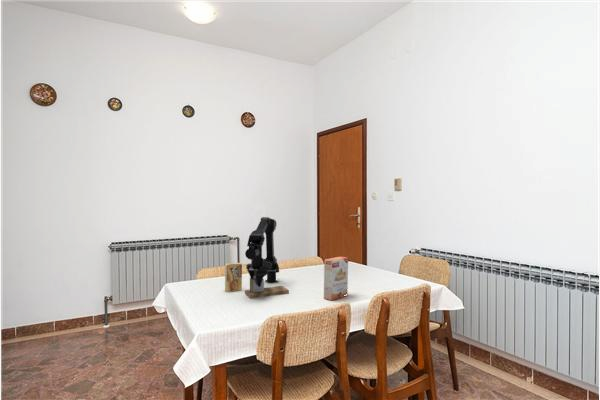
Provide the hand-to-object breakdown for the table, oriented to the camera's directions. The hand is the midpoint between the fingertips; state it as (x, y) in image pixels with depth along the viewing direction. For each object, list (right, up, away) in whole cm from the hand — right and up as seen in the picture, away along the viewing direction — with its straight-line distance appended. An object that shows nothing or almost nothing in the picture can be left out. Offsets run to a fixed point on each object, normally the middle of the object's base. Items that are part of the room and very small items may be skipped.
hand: (256, 284), depth 194 cm
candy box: (-14, -6, +9) cm, 18 cm away
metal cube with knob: (0, -4, 0) cm, 4 cm away
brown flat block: (+5, -6, +3) cm, 8 cm away
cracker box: (+43, -6, -4) cm, 43 cm away
